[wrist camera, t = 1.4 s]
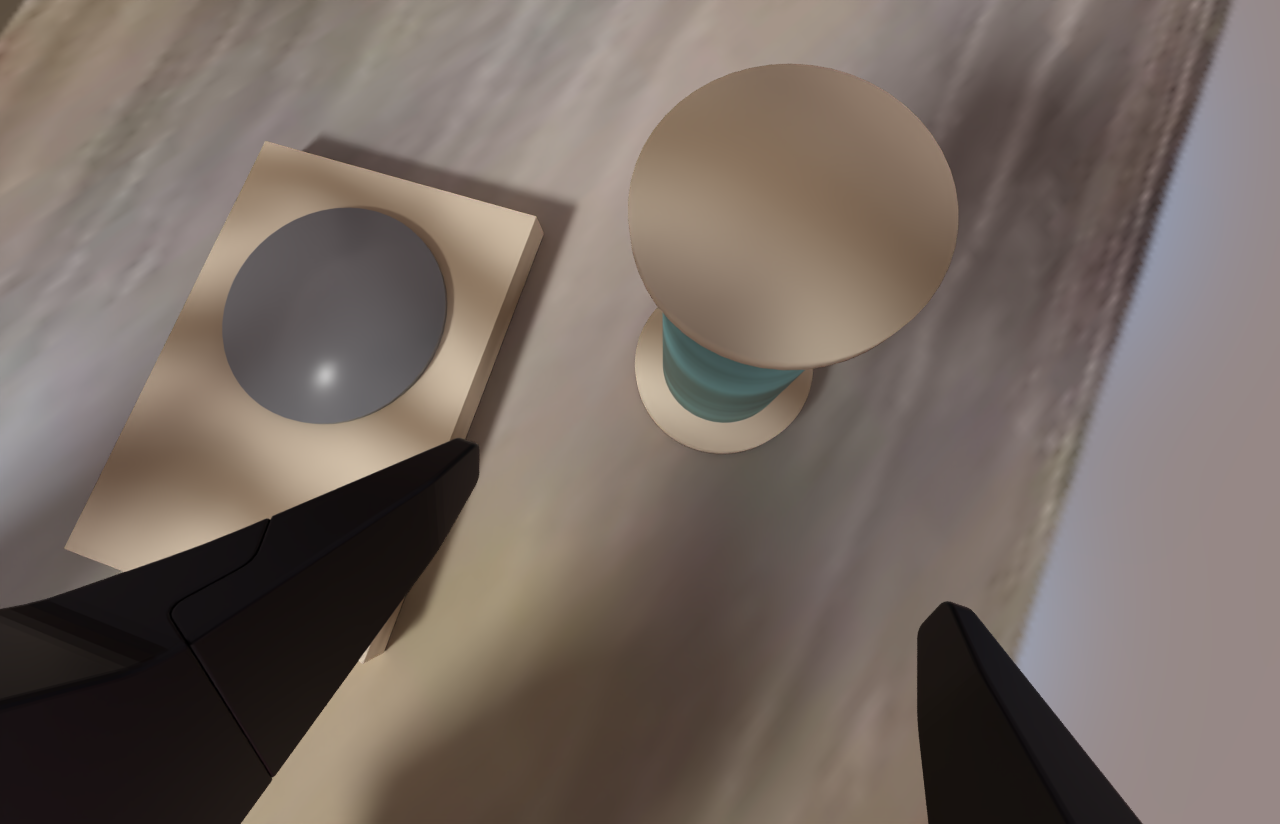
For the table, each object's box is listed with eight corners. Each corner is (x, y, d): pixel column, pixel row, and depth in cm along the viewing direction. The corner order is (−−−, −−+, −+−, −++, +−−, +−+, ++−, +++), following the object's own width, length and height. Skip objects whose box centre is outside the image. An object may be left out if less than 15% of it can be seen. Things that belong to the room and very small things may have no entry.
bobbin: (779, 476, 22) (938, 438, 9) (614, 424, 23) (552, 323, 10) (824, 317, 23) (1018, 90, 11) (665, 272, 24) (667, 9, 11)
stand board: (383, 652, 22) (358, 665, 20) (102, 545, 23) (55, 549, 21) (543, 233, 25) (534, 212, 23) (288, 161, 26) (260, 136, 24)
